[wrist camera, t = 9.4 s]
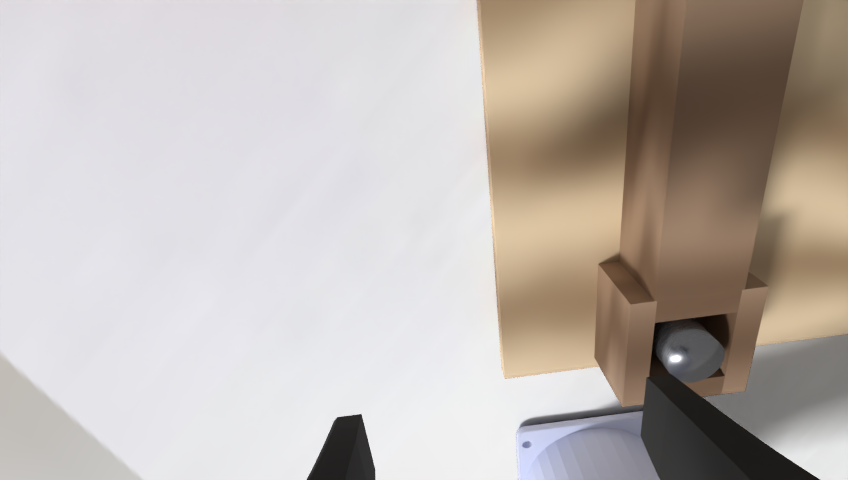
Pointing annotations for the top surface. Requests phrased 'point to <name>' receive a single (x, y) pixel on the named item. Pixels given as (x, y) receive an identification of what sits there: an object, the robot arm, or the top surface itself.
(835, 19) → the board
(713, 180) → the link
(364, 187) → the top surface
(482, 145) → the top surface
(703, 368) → the post
